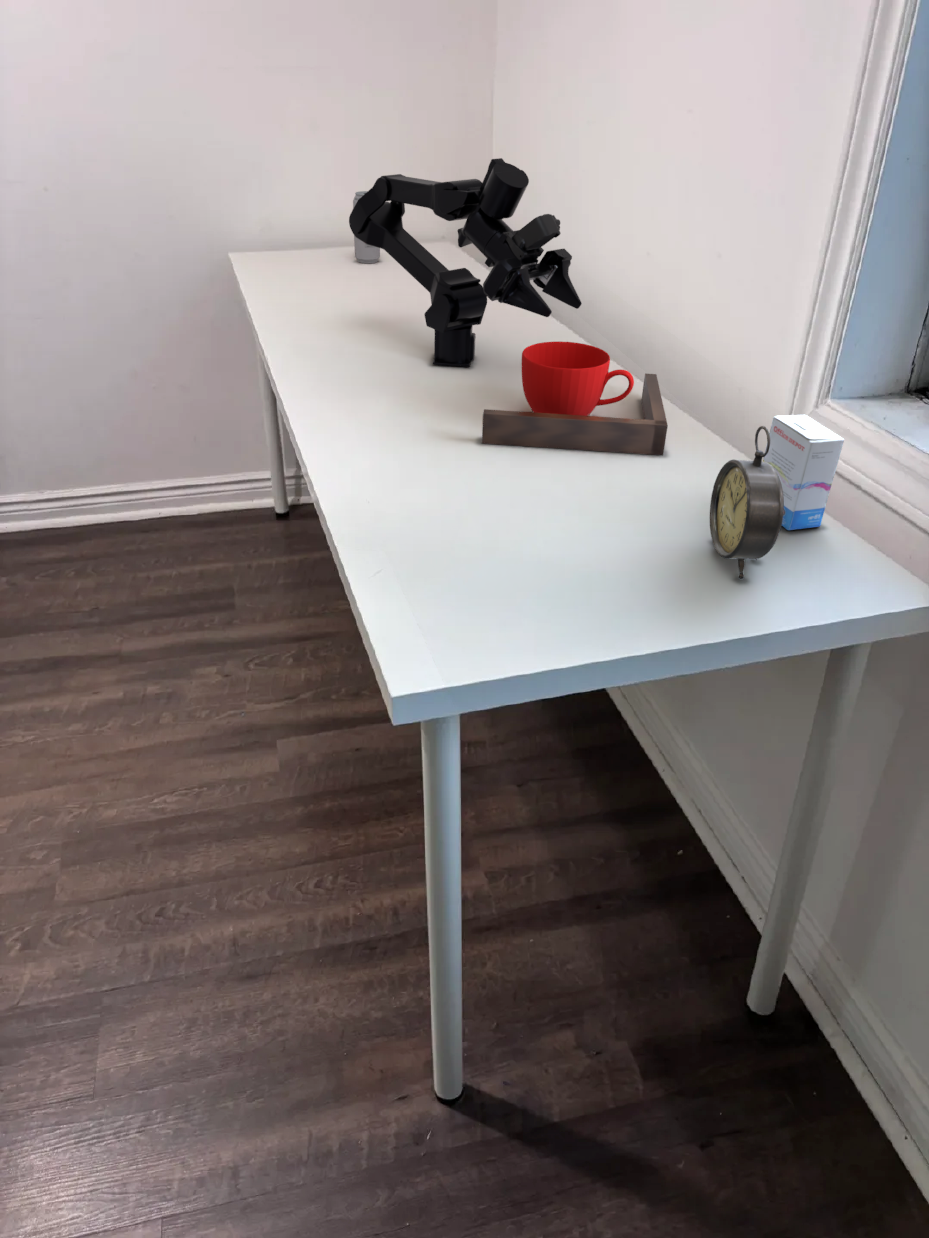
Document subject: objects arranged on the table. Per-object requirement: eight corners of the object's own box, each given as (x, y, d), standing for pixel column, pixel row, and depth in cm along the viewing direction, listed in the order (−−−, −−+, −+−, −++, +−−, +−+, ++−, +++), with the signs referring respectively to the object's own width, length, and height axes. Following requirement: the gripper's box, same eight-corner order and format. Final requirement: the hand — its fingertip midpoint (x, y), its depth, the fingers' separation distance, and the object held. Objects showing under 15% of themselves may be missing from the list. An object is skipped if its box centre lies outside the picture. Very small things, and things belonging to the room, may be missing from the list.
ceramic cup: (617, 446, 136) (626, 378, 131) (506, 427, 141) (510, 361, 136) (636, 415, 147) (645, 352, 141) (531, 399, 151) (536, 337, 146)
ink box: (823, 527, 117) (847, 437, 110) (787, 532, 116) (810, 441, 109) (784, 497, 124) (805, 411, 117) (751, 501, 122) (770, 414, 116)
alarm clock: (700, 538, 114) (725, 408, 105) (744, 537, 114) (772, 408, 105) (729, 585, 105) (759, 448, 96) (776, 584, 105) (810, 447, 96)
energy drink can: (369, 257, 230) (368, 190, 221) (385, 261, 226) (384, 194, 218) (349, 260, 226) (347, 192, 218) (365, 265, 223) (363, 196, 214)
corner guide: (481, 443, 136) (483, 413, 133) (492, 391, 154) (493, 364, 151) (663, 455, 134) (667, 425, 132) (652, 401, 152) (656, 374, 150)
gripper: (489, 201, 136) (563, 275, 134) (555, 194, 150) (623, 261, 148) (453, 264, 144) (522, 335, 142) (519, 252, 157) (583, 317, 155)
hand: (565, 310), depth 146 cm, fingers open, 9 cm apart
